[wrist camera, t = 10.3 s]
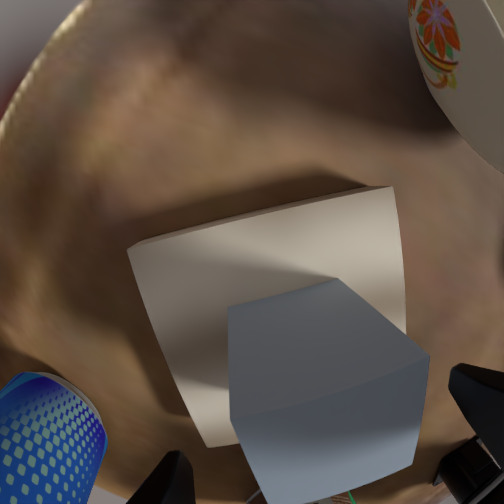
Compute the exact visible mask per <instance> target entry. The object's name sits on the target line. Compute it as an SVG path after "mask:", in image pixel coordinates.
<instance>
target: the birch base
mask: <svg viewBox="0 0 504 504" xmlns="http://www.w3.org/2000/svg"><path fill="white" fill-rule="evenodd" d="M126 250H127V253H128V256H129V260H130V263H131V266H132V269H133V272H134V276H135V279H136V282H137V285H138V288H139V291H140V294H141V297H142V300H143V302H144V305H145V308H146V311H147V314H148V316H149V319H150V322H151V325H152V327H153V330H154V332H155V335H156V338H157V340H158V343H159V345H160V348H161V350H162V353H163V355H164V357H165V360H166V362H167V365H168V367H169V369H170V372H171V374H172V376H173V378H174V381H175V383H176V385H177V387H178V390H179V392H180V394H181V396H182V398H183V400H184V403H185V405H186V407H187V409H188V411H189V413H190V415H191V417H192V419H193V421H194V423H195V425H196V427H197V429H198V431H199V433H200V435H201V437H202V439H203V440H204V442H205V444H206V446H207V448H212V447H219V446H226V445H232V444H238V443H239V440H238V438H237V436H236V433H235V431H234V428H233V426H232V424H231V421H230V409H229V368H228V307H230V306H234V305H238V304H242V303H247V302H251V301H255V300H259V299H263V298H267V297H271V296H275V295H279V294H283V293H286V292H290V291H294V290H298V289H302V288H305V287H309V286H313V285H317V284H320V283H324V282H327V281H331V280H335V279H338V278H339V279H340V280H341V281H342V282H343V283H345V284H346V285H347V286H348V287H350V288H351V289H352V290H353V291H354V292H356V293H357V294H358V295H359V296H361V297H362V298H363V299H364V300H365V301H367V302H368V303H369V304H370V305H371V306H373V307H374V308H375V309H376V310H377V311H379V312H380V313H381V314H382V315H383V316H384V317H386V318H387V319H388V320H389V321H390V322H392V323H393V324H394V325H395V326H396V327H397V328H399V329H400V330H401V331H402V332H403V333H404V334H406V307H405V285H404V270H403V258H402V248H401V239H400V230H399V223H398V215H397V209H396V202H395V196H394V190H393V186H367V187H362V188H357V189H352V190H347V191H343V192H338V193H333V194H328V195H324V196H319V197H314V198H310V199H305V200H301V201H296V202H292V203H287V204H283V205H278V206H274V207H270V208H265V209H261V210H257V211H253V212H249V213H244V214H240V215H236V216H232V217H228V218H224V219H220V220H216V221H212V222H208V223H204V224H200V225H196V226H193V227H189V228H185V229H181V230H177V231H173V232H170V233H166V234H162V235H159V236H155V237H151V238H148V239H144V240H141V241H140V242H138V243H136V244H135V245H133V246H131V247H130V248H128V249H126Z"/></svg>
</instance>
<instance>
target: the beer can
mask: <svg viewBox="0 0 504 504" xmlns="http://www.w3.org/2000/svg"><path fill="white" fill-rule="evenodd" d="M107 446H108V439H107V434H106V431H105V429H104V427H103V423H102V420H101V417H100V415H99V413H98V411H97V409H96V408H95V406H94V405H93V403H92V402H91V401H90V400H89V399H88V398H87V397H86V396H85V395H84V394H83V393H82V392H81V391H80V390H79V389H78V388H77V387H75V386H74V385H73V384H71V383H70V382H68V381H66V380H65V379H63V378H61V377H59V376H56V375H54V374H51V373H46V372H36V373H35V372H21V373H19V374H17V375H15V376H14V377H13V378H12V379H11V380H10V381H9V382H8V383H7V384H6V385H5V387H4V388H3V389H2V390H1V391H0V504H87V501H88V498H89V495H90V493H91V490H92V487H93V484H94V482H95V479H96V476H97V473H98V471H99V468H100V465H101V463H102V460H103V458H104V455H105V452H106V450H107Z"/></svg>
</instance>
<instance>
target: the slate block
mask: <svg viewBox="0 0 504 504" xmlns="http://www.w3.org/2000/svg"><path fill="white" fill-rule="evenodd" d="M429 361H430V355H429V354H428V353H426V352H425V351H424V350H423V349H422V348H421V347H419V346H418V345H417V344H416V343H415V342H414V341H413V340H411V339H410V338H409V337H408V336H407V335H406V334H404V333H403V332H402V331H401V330H400V329H399V328H397V327H396V326H395V325H394V324H393V323H392V322H390V321H389V320H388V319H387V318H386V317H384V316H383V315H382V314H381V313H380V312H379V311H377V310H376V309H375V308H374V307H373V306H371V305H370V304H369V303H368V302H367V301H365V300H364V299H363V298H362V297H361V296H359V295H358V294H357V293H356V292H354V291H353V290H352V289H351V288H350V287H348V286H347V285H346V284H345V283H343V282H342V281H341V280H340V279H339V278H338V279H335V280H331V281H327V282H324V283H320V284H317V285H313V286H309V287H305V288H302V289H298V290H294V291H290V292H286V293H283V294H279V295H275V296H271V297H267V298H263V299H259V300H255V301H251V302H247V303H242V304H238V305H234V306H230V307H228V368H229V409H230V421H231V424H232V426H233V428H234V431H235V433H236V436H237V438H238V440H239V443H240V445H241V447H242V449H243V452H244V454H245V456H246V458H247V461H248V463H249V465H250V467H251V469H252V472H253V474H254V476H255V478H256V480H257V482H258V484H259V486H260V489H261V491H262V493H263V495H264V497H265V499H266V501H267V503H268V504H304V503H308V502H312V501H316V500H320V499H323V498H327V497H330V496H333V495H337V494H340V493H343V492H346V491H349V490H352V489H355V488H357V487H360V486H363V485H366V484H368V483H371V482H373V481H376V480H378V479H381V478H383V477H386V476H388V475H390V474H392V473H395V472H397V471H399V470H401V469H403V468H406V467H408V466H410V465H412V462H413V458H414V454H415V450H416V445H417V441H418V436H419V431H420V426H421V421H422V415H423V409H424V403H425V396H426V388H427V380H428V371H429Z"/></svg>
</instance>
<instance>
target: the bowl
mask: <svg viewBox="0 0 504 504" xmlns="http://www.w3.org/2000/svg"><path fill="white" fill-rule="evenodd" d="M408 18H409V28H410V34H411V38H412V42H413V46H414V50H415V53H416V57H417V59H418V62H419V65H420V68H421V70H422V72H423V76H424V79H425V82H426V84H427V86H428V89H429V91H430V93H431V95H432V96H433V98H434V99H435V101H436V102H437V104H438V105H439V106H440V107H441V109H442V110H443V112H444V113H445V115H446V116H447V118H448V119H449V121H450V122H451V123H452V125H453V126H454V127H455V128H456V130H457V131H458V132H459V134H460V135H461V136H462V137H463V138H464V139H465V140H466V141H467V143H468V144H469V145H470V146H471V147H472V148H473V149H474V150H475V151H476V152H477V153H478V154H479V155H480V156H481V157H482V158H483V159H485V160H486V161H487V162H488V163H489V164H491V165H492V166H493V167H494V168H496V169H497V170H499V171H500V172H502V173H503V174H504V0H408Z"/></svg>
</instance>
